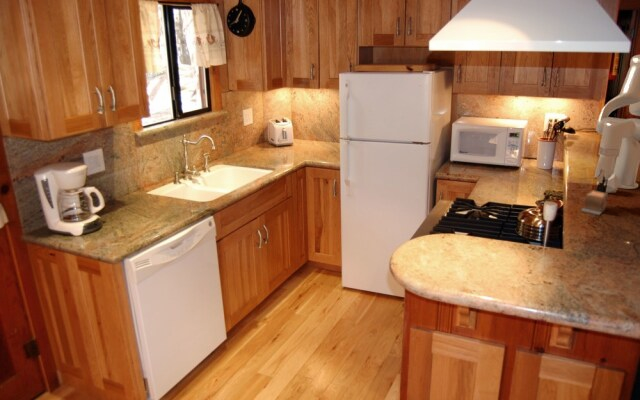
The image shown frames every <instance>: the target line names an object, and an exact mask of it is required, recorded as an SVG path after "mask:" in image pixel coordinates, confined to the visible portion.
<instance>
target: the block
mask: <svg viewBox="0 0 640 400" xmlns="http://www.w3.org/2000/svg"><path fill="white" fill-rule="evenodd" d="M608 195H609V193H604V192H599V191H597V190H594V189H593V190H591V191H590V192H588V193H587V194H586V198H585V202H584V207H583V208H585V209H589V210H593V211H598V212H600V211H601V210H602V209H603V208H604V207H605V208H606V204H607V199H608Z"/></svg>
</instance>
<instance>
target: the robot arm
mask: <svg viewBox="0 0 640 400" xmlns="http://www.w3.org/2000/svg"><path fill="white" fill-rule="evenodd" d="M629 66H630V67H629V68H628V71H627V73H626V77H625V78H624V81H623V84H622V87H621V88H620V89H621V90H620V93H619V94H618V95H616V96H615V97H613V98H612V99H610V100H609V101H607V103H606V104H605V105H604V106H603V107H602V108H601V110H600V112H599V116H598V117H597V118H598V119H597V120H596V123H595V131H596V132H597V134H600V135H601V139H600V143H599V144H600V145H599V149H598V155H599V157H598V160H597V165H596V169H595V174H594V177H593V178H594V179H597V178H598V181H597V182H598V185H597V187H596V191H599V192H604V193H606V188H607V183H608V179H609V178H610V177H611V176H612V174H615V175H616V176H617V178H618V179H619V180H620V181H621V183H622V184H621V185H620V186H619V188H618V189H625V190H627V189H628V190H633V189H637V188H638V187H639V183H637V182H636V180H637V175H638V170H639V166H640V118H620V117H619V118H618V117H611V116H609V115H610V114H611V113H612V112H613V111H615V110H617V109H620V108H623V107H626V106H628V107H629V109H628V112H629V113H630V114H631V115H633V116H637V117H640V54H636V55H634V56H632V57H631V58H630V63H629Z"/></svg>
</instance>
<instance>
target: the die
mask: <svg viewBox="0 0 640 400" xmlns="http://www.w3.org/2000/svg"><path fill="white" fill-rule="evenodd" d="M621 184H622V183H621V181H620V180H619V179H618V178H617V176H616V175H615V174H613V173H612V176H611V177H610V178H609V179H608V183H607V188H606V193H608V194H610V193H611V194H615V193H616V192H617V190H618V189H620V188H619V186H620V185H621ZM596 185H597V186H598V181H597V182H596Z"/></svg>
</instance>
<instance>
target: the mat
mask: <svg viewBox="0 0 640 400" xmlns="http://www.w3.org/2000/svg"><path fill="white" fill-rule="evenodd" d="M605 210H606V206H605V207H604V208H603V209H602V210H601V211H600V212H598V211H593V210H589V209H585V208H584V207H583V208H581V209H580V212H581V213H582V212H583V213H587V214H592V215H595V216H600V215H601V214H602V213H603V212H604V211H605Z"/></svg>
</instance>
